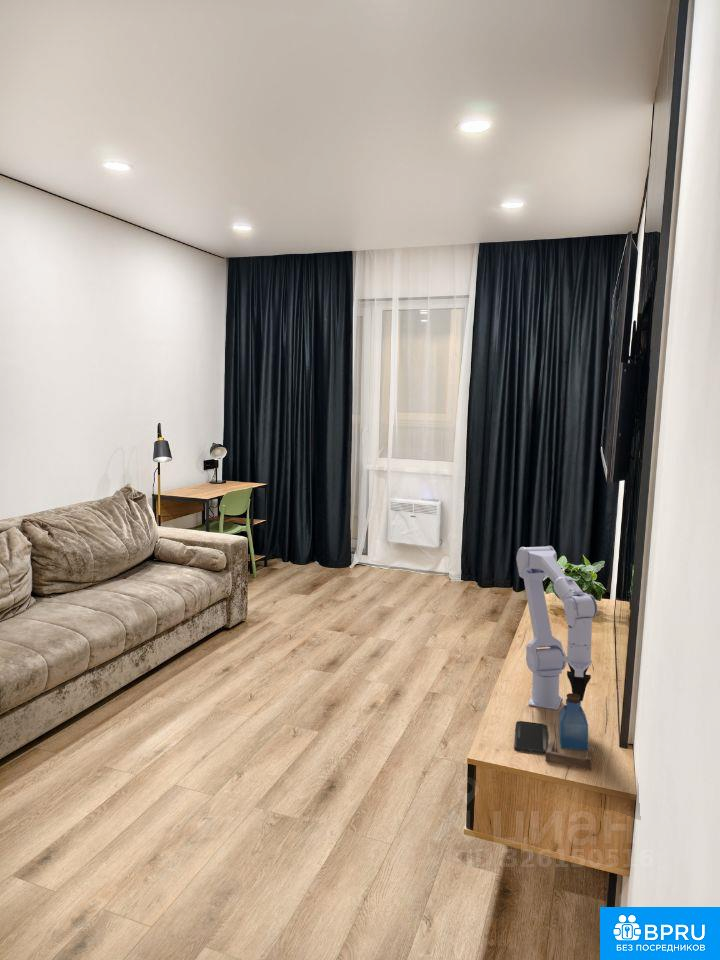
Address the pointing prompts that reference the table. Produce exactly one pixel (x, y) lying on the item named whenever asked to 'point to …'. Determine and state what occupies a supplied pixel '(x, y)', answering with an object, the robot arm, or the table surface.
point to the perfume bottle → (573, 724)
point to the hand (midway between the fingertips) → (577, 694)
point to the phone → (530, 737)
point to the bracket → (568, 757)
